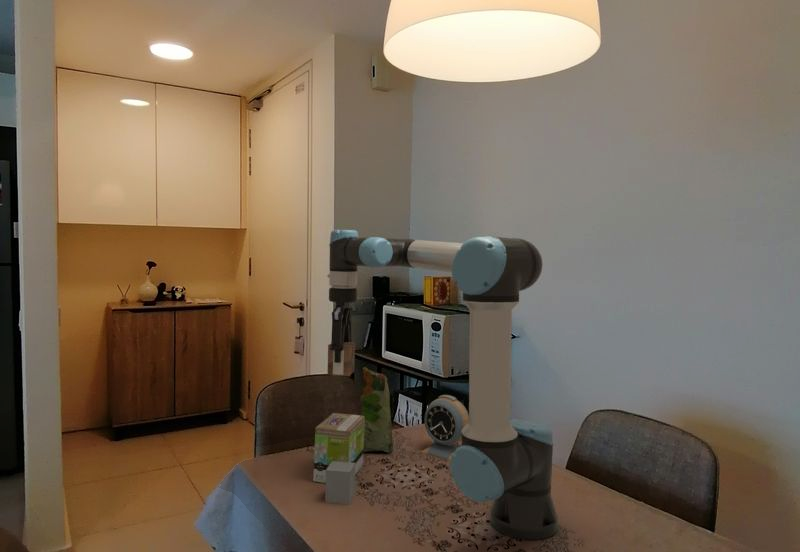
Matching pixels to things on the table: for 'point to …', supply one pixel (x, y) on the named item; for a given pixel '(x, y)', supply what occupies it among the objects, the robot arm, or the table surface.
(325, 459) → the tea box
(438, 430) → the alarm clock
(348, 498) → the grey block
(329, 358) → the walnut block
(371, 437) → the pouch
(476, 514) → the table surface
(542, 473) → the robot arm
